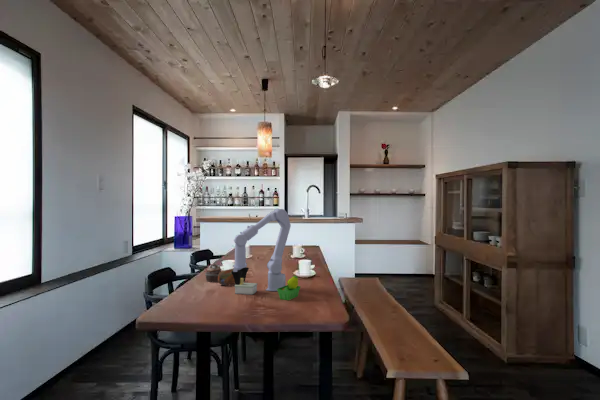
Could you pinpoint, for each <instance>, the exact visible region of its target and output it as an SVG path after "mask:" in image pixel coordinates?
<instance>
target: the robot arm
mask: <svg viewBox="0 0 600 400" xmlns="http://www.w3.org/2000/svg"><path fill="white" fill-rule="evenodd" d="M289 216H290V215H289V213H288V212H287V211H286V209H283V208H281V209H280V208H275V209H274V210H272V211H270V212H269V213H267V214H266V215H265V216H264V217H262V219H260V220H259V221H258V222H256V224H254V225H253V224H251V225H247V226H246V228H245V229H244V230H242V231H240V232H239V234H237V235H235V236H234V239H233V242H234V245H235V246H234V264H233V265H232V267H233V268H232V269H233V271H231V273H232V275H233V277H234V280H235V283H234V285H240V279H241V278H244V282H245V281H246V278H247V275H248V274H247V273H248V272H249V269H250V268H249V267H248V263H247V262H246V259H247V257H246V255H247V253H246V251H247V249H246V244H247V242H248V241H250V240H251V239H253V238H254V237H255V236H256V235H257V234H258V233H259V230H261V229H262V228H263V227H264V226H266V225H267V224H268V223H270V222H274V221H275V222H277V223H278V224H279V226H280V228H279V229H280V230H279V232H278V235H277V238H276V239H277V240H276V243H275V246H274V250H273V253H272V254H271V257H270V260H269V261H268V262H267V264H266V267H267V269H268V272H267V288H266V289H265V291H268V292H278V291H277V289H278V288H281V287H284V286H286V285H287V284H286V283H287V282H286V281H287V280H286V274H285V273H282V272H281V271H282V270H283V265H282V263H283V254H284V250H285V248H286V244H287V240H288V237H289V234H290V231H291V230H290V229H291V222H290V217H289Z"/></svg>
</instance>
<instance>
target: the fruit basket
mask: <svg viewBox="0 0 600 400" xmlns="http://www.w3.org/2000/svg"><path fill="white" fill-rule="evenodd" d="M286 281H287V282H286V283H287V284H286V286H284V287H281V288H278V289H277V291H276V292H277V294H278V296H279V300H282V301H283V300H284V301H290V300H293V299H296V298H298V296H299V292H300V289H301V286H300V285H299V277H298V276H297V275H293V276H292V277H291V278H289V279H288V280H286Z"/></svg>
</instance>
